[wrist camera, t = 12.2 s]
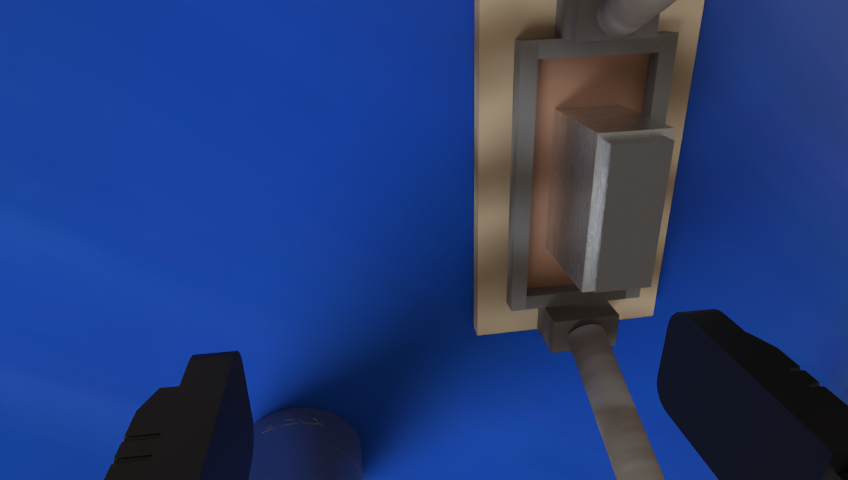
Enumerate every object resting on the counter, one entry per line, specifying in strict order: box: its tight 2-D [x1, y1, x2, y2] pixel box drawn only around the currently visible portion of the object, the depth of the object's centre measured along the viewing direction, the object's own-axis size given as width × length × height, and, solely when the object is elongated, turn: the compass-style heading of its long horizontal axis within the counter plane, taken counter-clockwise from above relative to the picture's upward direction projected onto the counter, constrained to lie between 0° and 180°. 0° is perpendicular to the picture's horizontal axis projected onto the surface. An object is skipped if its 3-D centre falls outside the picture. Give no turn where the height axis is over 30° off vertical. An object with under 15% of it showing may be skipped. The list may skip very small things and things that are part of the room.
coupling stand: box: [474, 0, 705, 480], centre depth 29 cm, size 31×13×15 cm, turn 2°
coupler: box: [545, 104, 675, 293], centre depth 32 cm, size 4×9×7 cm, turn 2°
